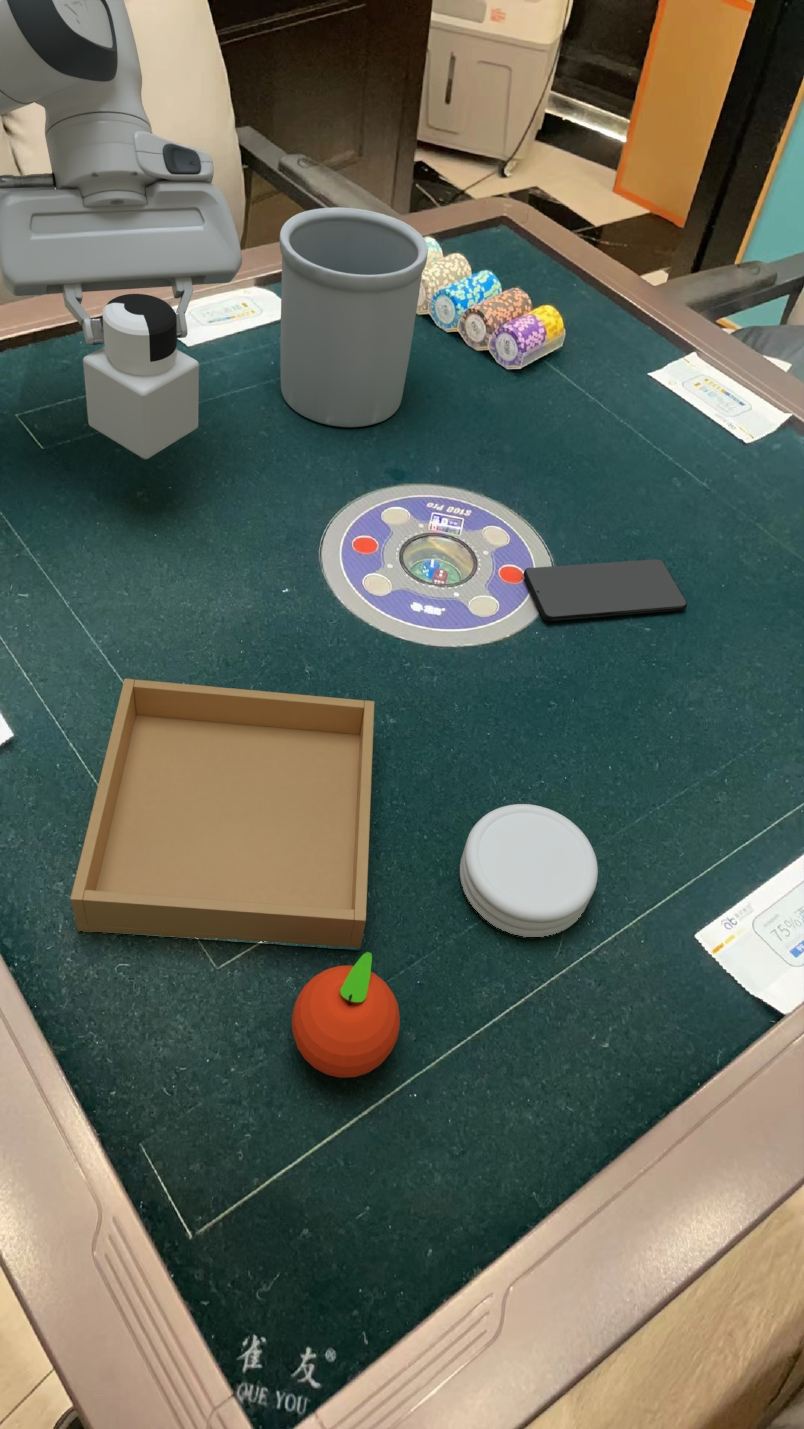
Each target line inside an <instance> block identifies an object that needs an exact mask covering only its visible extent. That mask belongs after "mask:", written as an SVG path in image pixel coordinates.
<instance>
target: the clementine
mask: <svg viewBox="0 0 804 1429" xmlns="http://www.w3.org/2000/svg"><path fill="white" fill-rule="evenodd" d="M372 954H373V953H372V952H369V951H366V952H364V953H363V954H362V955H361V956H360V957H359V959H358V960H357V961H356V962H355V963H354V964H353V965H351V964H350V965H337V966H334V967H330V968H327V969H325V970H323V971H321V972H320V973H317V974H316V975H314V976H312V978H310V980H308V982H306V984H304V986H303V987H302V989H301V990H300V993H299V994H298V996H297V998H296V1000H295V1003H294V1007H293V1010H292V1014H291V1030H292V1035H293V1038H294V1041H295V1044H296V1047H297V1049H298V1051H299V1052H300V1055H301V1056H302V1057H303V1059H304V1060H305V1061H306V1062H307V1063H308V1064H310V1066H311V1067H313V1068H314V1069H315V1070H317V1071H319V1072H321V1073H323V1074H325V1075H327V1076H332V1077H336V1078H342V1079H344V1078H356V1077H361V1076H363V1075H366V1074H369V1073H370V1072H372V1071H373V1070H375V1069H376V1068H379V1066H381V1065H382V1063H384V1061H385V1060H386V1059H387V1058H388V1057H389V1055H390V1054H391V1052H392V1051H393V1049H394V1047H395V1045H396V1043H397V1041H398V1037H399V1034H400V1033H399V1032H400V1027H401V1019H400V1018H401V1017H400V1010H399V1004H398V1001H397V999H396V996H395V994H394V992H393V991H392V990H391V989H390V987H389V985H388V984H387V983H386V981H384V980H383V979H382V978H381V977H380V976H378V975H377V974H376V973H374V972H373V971H372V963H373V955H372Z"/></svg>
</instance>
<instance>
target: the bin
mask: <svg viewBox="0 0 804 1429" xmlns="http://www.w3.org/2000/svg"><path fill="white" fill-rule="evenodd" d="M374 725H375V701H374V700H363V699H355V698H354V699H353V698H342V697H330V696H321V695H311V694H309V695H308V694H298V693H287V692H276V691H265V690H254V689H243V688H232V687H224V686H223V687H221V686H210V685H202V684H201V685H198V684H189V683H180V682H179V683H177V682H167V681H156V680H146V679H145V680H144V679H134V678H125V677H124V679H123V682H122V687H121V692H120V695H119V699H118V703H117V708H116V711H115V715H114V720H113V723H112V727H111V732H110V736H109V738H108V739H109V740H108V743H107V748H106V751H105V756H104V760H103V764H102V769H101V772H100V777H99V781H98V785H97V788H96V792H95V796H94V801H93V805H92V808H91V812H90V816H89V817H90V818H89V822H88V825H87V829H86V833H85V837H84V841H83V844H82V849H81V854H80V857H79V861H78V865H77V869H76V874H75V878H74V882H73V886H72V890H71V894H70V899H69V900H70V904H71V907H72V913H73V916H74V919H75V920H74V921H75V925H76V929H77V932H78V933H79V932H80V931H83V932H82V933H93V932H103V933H102V934H106V933H105V932H108V933H110V932H111V933H130V934H148V935H161V936H175V937H190V938H195V937H196V938H219V939H225V938H227V939H237V940H247V941H251V940H252V941H262V942H264V941H268V942H281V943H295V944H310V945H328V946H346V947H356V948H360V949H361V947H362V942H363V937H364V931H365V928H366V923H367V904H368V902H367V900H368V881H369V880H368V879H369V878H368V877H369V855H370V854H369V853H370V826H371V802H372V801H371V800H372V778H373V776H372V775H373V752H374V750H373V748H374Z"/></svg>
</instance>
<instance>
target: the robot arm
mask: <svg viewBox="0 0 804 1429" xmlns="http://www.w3.org/2000/svg"><path fill="white" fill-rule="evenodd" d="M131 23H132V22H131V19H130V17H129V13H128V10H127V6H126V4H125V1H124V0H0V116H3V115H7V114H9V113H11V112H13V111H17V110H19V109H21V108H24V107H27V106H29V105H31V104H37V105H39V106H41V107H43V108H44V114H45V122H44V137H45V143H46V148H47V153H48V158H49V163H50V167H51V173H48V172H47V173H45V172H44V173H31V174H23V175H14V174H0V276H1V282H2V285H3V287H4V288H5V289H6V290H7V291H9V293H10V294H12V295H13V296H15V297H24V296H40V295H42V296H43V295H57V294H59V295H60V294H62V298H63V303H64V307H65V308H66V309H67V311H68V312H69V313H70V314H71V315H72V317H73V318H75V320H76V321H77V323H78V324H79V325H80V326H82V331H83V336H84V342H85V345H86V346H96V345H105V344H104V330H103V320H102V318H92V317H91V316H90V315H89V313H88V312H87V310H85V308H84V307H83V306H82V302H83V296H84V294H83V293H89V292H103V291H105V292H106V291H119V290H121V291H122V290H135V289H136V290H139V289H153V288H168V287H169V288H170V287H171V289H172V296H173V298H174V299H180V300H179V302H178V305H177V308H176V311H175V313H176V316H177V339H184V338H187V336H188V325H187V320H186V319H187V318H186V312H187V310H188V308H189V304H190V301H191V299H192V296H193V293H194V288H193V287H194V286H201V285H215V284H228V283H231V282H232V281H233V280H234V279H235V277H236V276H237V274H238V273H239V271H240V270H241V268H242V265H243V255H242V250H241V244H240V240H239V235H238V231H237V227H236V224H235V221H234V216H233V214H232V211H231V208H230V205H229V202H228V200H227V198H226V196H225V195H224V193H223V192H222V191H221V190H220V189H219V187H217V186H216V185H214V184H212V182H213V179H214V173H215V166H214V161H213V158H212V156H211V154H210V153H208V152H207V151H204V150H202V149H199V148H197V147H192V146H189V145H185V144H183V143H178V142H176V141H172V140H170V139H167V138H164V137H162V136H158V135H156V134H153V129H152V125H151V124H152V123H151V122H150V119H149V117H148V115H147V113H146V111H145V108H144V105H143V100H142V99H143V98H142V88H143V74H142V69H141V63H140V58H139V53H138V47H137V43H136V40H135V35H134V31H133V27H132V24H131Z"/></svg>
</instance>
